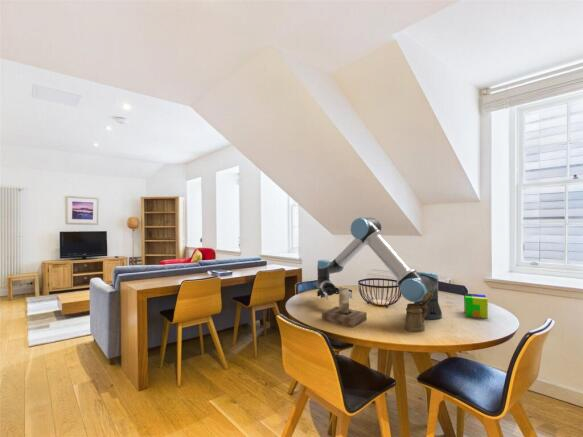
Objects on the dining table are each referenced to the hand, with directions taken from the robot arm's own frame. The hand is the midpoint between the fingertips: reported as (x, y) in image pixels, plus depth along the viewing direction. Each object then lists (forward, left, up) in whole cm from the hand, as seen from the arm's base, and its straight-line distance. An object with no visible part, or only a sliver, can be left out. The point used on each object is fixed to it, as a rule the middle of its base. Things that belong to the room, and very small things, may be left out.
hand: (339, 296), depth 169 cm
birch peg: (-5, +4, -11) cm, 12 cm away
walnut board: (-5, +4, -11) cm, 13 cm away
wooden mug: (-39, -7, -11) cm, 41 cm away
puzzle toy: (-55, -49, -11) cm, 75 cm away
